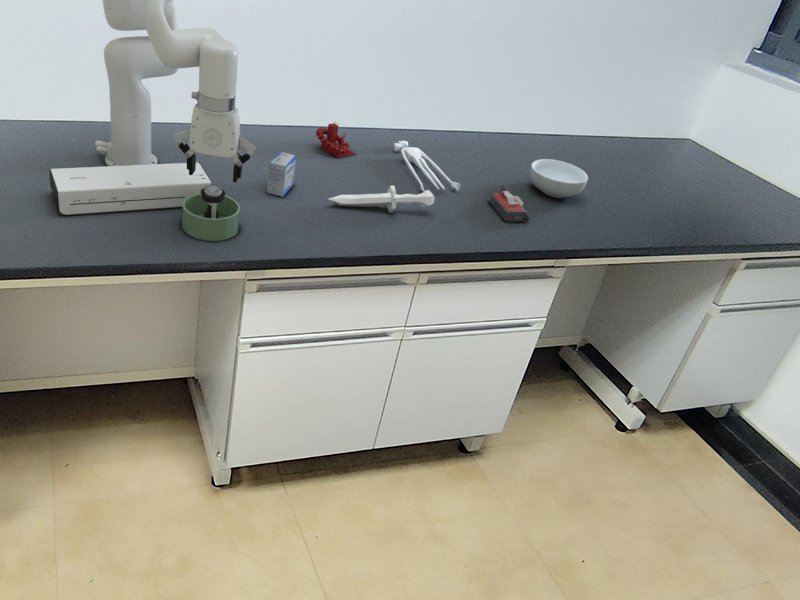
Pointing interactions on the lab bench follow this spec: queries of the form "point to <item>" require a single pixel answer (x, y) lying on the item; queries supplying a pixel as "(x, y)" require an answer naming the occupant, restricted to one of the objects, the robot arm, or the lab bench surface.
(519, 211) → the walkie-talkie
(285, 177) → the medicine box
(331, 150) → the diorama
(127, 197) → the laminator
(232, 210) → the green round bowl
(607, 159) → the lab bench surface
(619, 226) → the lab bench surface
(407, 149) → the alien
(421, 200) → the dagger
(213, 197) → the push button
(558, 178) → the cereal bowl
